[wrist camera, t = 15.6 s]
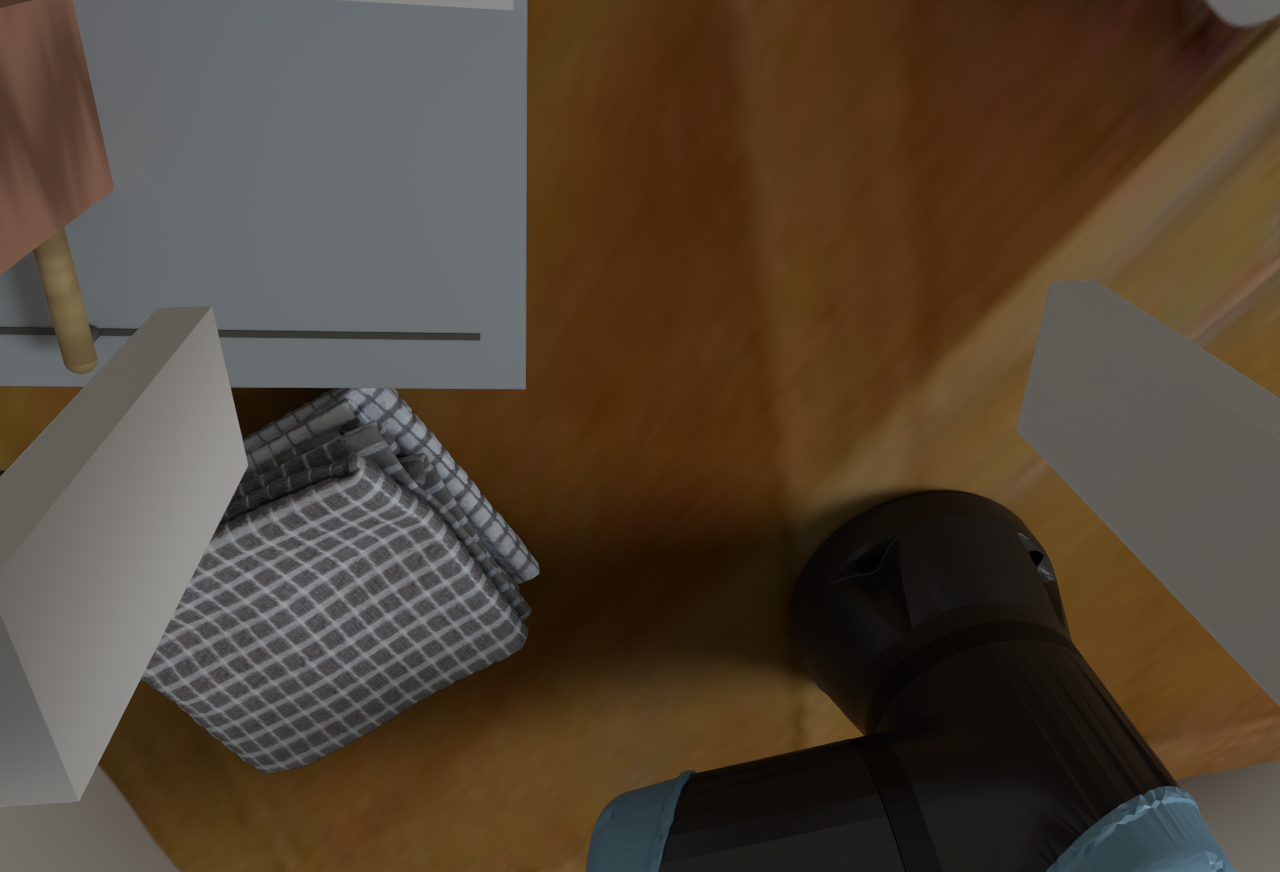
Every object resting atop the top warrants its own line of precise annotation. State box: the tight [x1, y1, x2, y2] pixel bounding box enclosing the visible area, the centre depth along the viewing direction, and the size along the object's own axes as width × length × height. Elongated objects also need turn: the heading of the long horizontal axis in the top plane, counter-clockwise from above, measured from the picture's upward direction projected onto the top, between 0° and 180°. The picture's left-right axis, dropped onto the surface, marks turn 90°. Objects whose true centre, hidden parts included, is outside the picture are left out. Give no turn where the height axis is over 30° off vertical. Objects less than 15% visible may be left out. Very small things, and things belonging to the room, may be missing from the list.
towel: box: [141, 388, 540, 774], centre depth 46 cm, size 15×18×8 cm
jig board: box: [0, 0, 527, 389], centre depth 36 cm, size 18×26×6 cm
